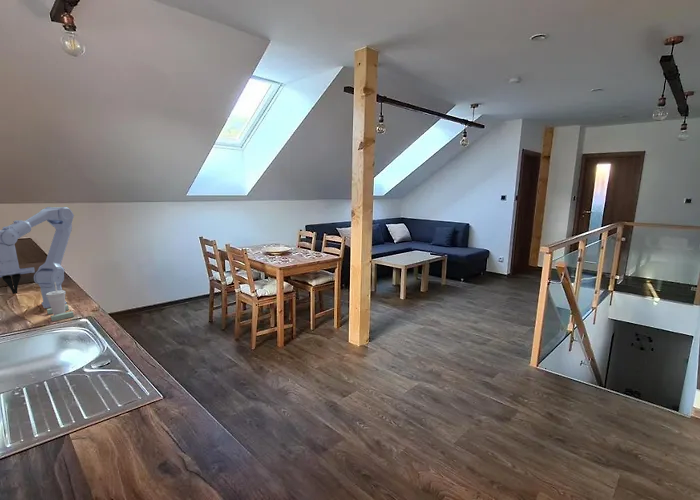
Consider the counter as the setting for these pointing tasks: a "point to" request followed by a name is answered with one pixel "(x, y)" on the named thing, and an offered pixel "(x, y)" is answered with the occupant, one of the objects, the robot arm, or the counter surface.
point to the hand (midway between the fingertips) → (14, 293)
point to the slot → (60, 316)
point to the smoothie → (57, 300)
